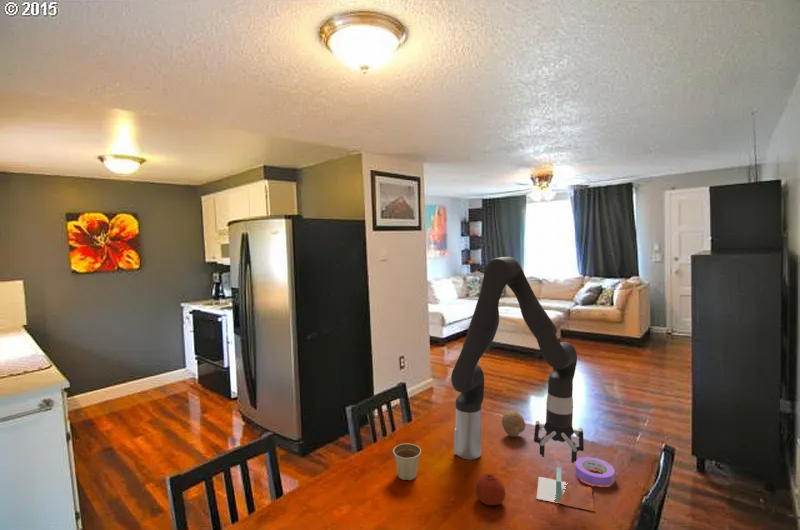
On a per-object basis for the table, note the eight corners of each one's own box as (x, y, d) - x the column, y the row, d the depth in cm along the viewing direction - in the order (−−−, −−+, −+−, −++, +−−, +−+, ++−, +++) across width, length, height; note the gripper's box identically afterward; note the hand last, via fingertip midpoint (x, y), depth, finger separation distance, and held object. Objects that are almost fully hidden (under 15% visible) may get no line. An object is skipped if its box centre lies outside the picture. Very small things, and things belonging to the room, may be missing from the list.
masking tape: (619, 490, 128) (619, 478, 127) (579, 486, 130) (579, 474, 130) (608, 469, 139) (608, 458, 139) (571, 466, 141) (571, 455, 141)
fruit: (472, 492, 127) (472, 467, 127) (501, 492, 127) (501, 468, 126) (477, 511, 118) (477, 485, 118) (508, 511, 118) (508, 485, 118)
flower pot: (425, 471, 139) (425, 446, 138) (414, 486, 131) (414, 460, 130) (400, 465, 143) (400, 441, 142) (388, 479, 135) (388, 454, 134)
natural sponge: (515, 429, 168) (515, 405, 168) (530, 438, 160) (530, 414, 160) (497, 433, 165) (497, 409, 164) (511, 443, 157) (511, 418, 156)
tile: (555, 500, 122) (556, 481, 122) (556, 485, 130) (556, 466, 129) (560, 501, 122) (561, 482, 121) (561, 486, 129) (561, 467, 129)
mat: (536, 499, 123) (536, 498, 123) (538, 477, 134) (538, 476, 134) (595, 512, 117) (595, 511, 117) (592, 488, 128) (592, 487, 128)
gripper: (534, 409, 124) (532, 460, 125) (585, 417, 119) (583, 470, 120) (535, 399, 131) (534, 448, 132) (584, 406, 126) (582, 457, 127)
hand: (557, 458), depth 126 cm, fingers open, 8 cm apart
